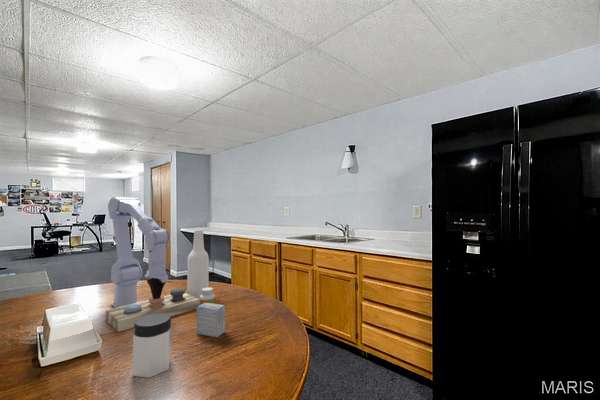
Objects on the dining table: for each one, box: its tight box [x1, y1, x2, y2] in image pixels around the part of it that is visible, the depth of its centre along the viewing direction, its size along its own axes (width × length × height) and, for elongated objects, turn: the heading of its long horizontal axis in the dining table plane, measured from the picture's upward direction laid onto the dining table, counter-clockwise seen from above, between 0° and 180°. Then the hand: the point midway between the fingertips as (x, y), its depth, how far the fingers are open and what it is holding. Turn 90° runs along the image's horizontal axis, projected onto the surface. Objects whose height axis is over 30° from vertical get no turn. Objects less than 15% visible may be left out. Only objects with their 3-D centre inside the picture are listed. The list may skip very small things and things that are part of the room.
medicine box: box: [196, 303, 226, 338], centre depth 88 cm, size 8×4×9 cm, turn 71°
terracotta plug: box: [148, 295, 165, 308], centre depth 103 cm, size 5×5×5 cm
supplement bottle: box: [200, 286, 216, 305], centre depth 103 cm, size 5×5×10 cm
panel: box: [105, 292, 200, 333], centre depth 104 cm, size 14×28×4 cm, turn 139°
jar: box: [132, 314, 172, 379], centre depth 69 cm, size 9×8×12 cm
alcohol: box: [186, 228, 210, 299], centre depth 123 cm, size 9×9×30 cm
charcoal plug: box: [169, 288, 186, 302], centre depth 110 cm, size 5×5×5 cm
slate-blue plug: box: [124, 304, 141, 315], centre depth 97 cm, size 5×5×5 cm
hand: (156, 298), depth 103 cm, fingers closed, pressing on terracotta plug
